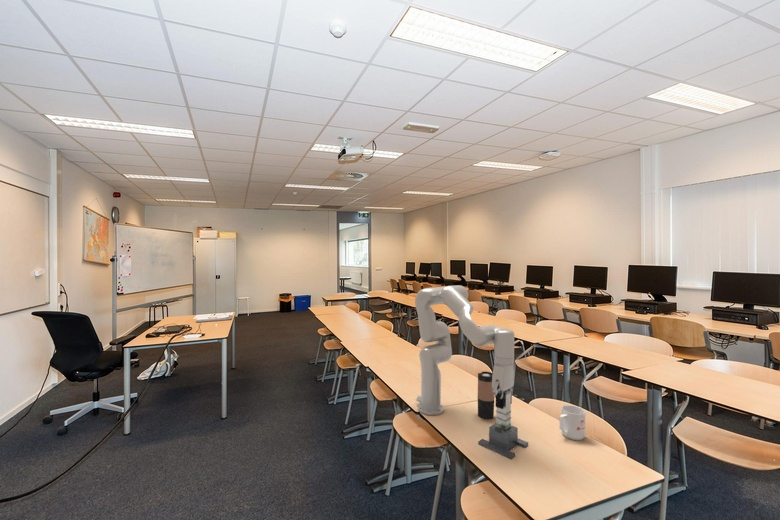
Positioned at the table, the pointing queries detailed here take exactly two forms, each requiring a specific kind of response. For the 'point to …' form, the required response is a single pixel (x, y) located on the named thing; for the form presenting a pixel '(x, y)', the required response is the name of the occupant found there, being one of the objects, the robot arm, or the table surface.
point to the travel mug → (485, 396)
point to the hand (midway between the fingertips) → (503, 404)
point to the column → (504, 412)
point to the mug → (572, 422)
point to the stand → (503, 441)
